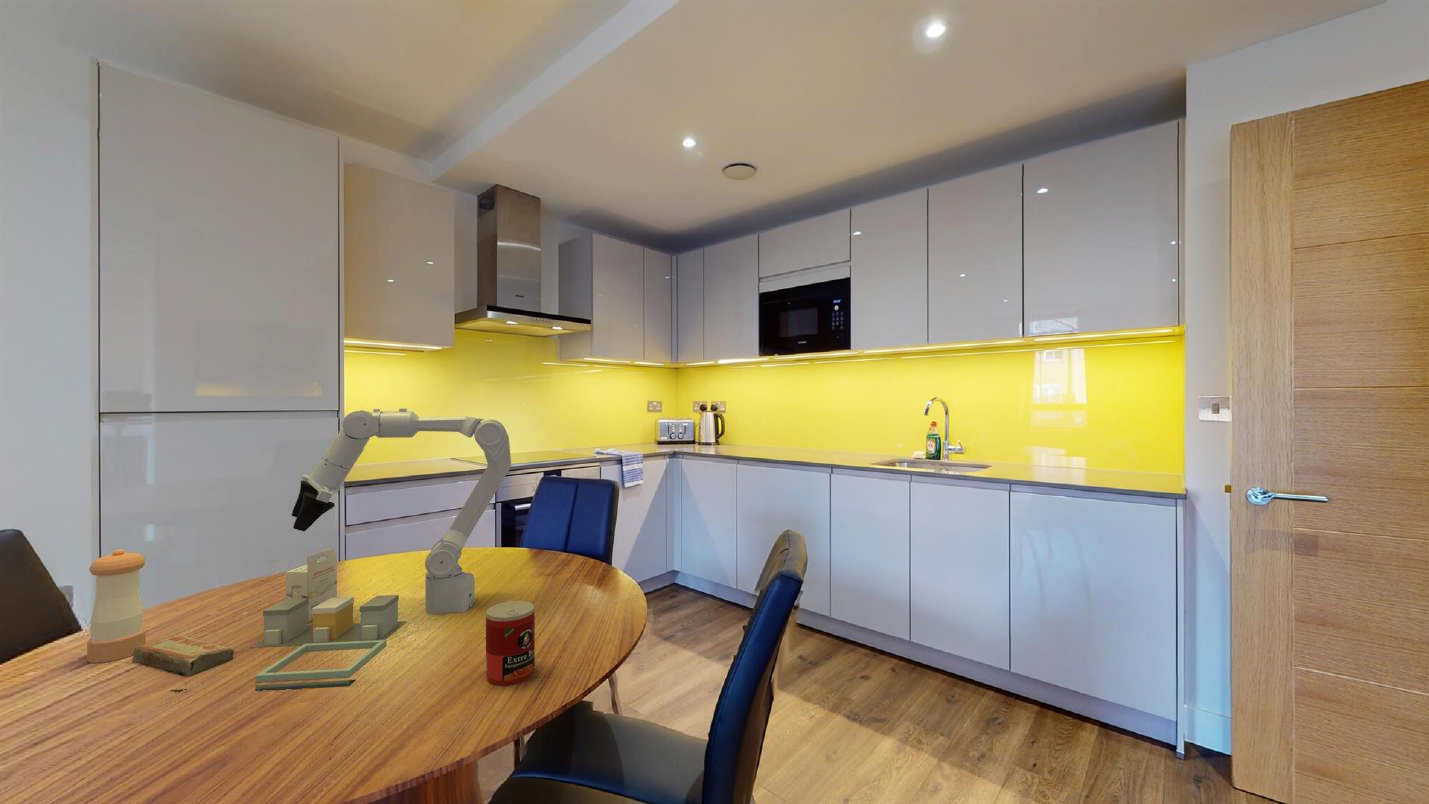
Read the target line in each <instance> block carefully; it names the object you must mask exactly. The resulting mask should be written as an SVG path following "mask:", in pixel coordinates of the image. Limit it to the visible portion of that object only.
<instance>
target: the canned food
mask: <svg viewBox="0 0 1429 804" xmlns="http://www.w3.org/2000/svg"><path fill="white" fill-rule="evenodd" d="M485 614H486V615H485V674H486V678H487V680H488V681H489V683H491V684H494V685H497V686H508V685H514V684H515V685H516V684H518V683H521V682H524V681H526V680H528V679H529V678H530V677H531V676H532V675H533V673H534V671H535V666H536V665H535V663H536V661H535V649H536V648H535V647H536V646H535V641H536V639H535V637H536V635H535V634H536V629H535V627H536V624H535V621H536V620H535V619H536V617H535V615H536V613H535V605H534V604H533V603H531V602H528V601H522V600H518V601H517V600H515V601H505V602H501V603H497V604H495V605H492V606H491V607H489V608H488V609H487V610H486V612H485Z"/></svg>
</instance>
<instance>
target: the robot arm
mask: <svg viewBox="0 0 1429 804" xmlns="http://www.w3.org/2000/svg"><path fill="white" fill-rule="evenodd" d="M418 432H438V433H440V432H441V433H444V432H447V433H450V432H451V433H452V432H453V433H455V432H457V433H460V434H462V435H463V436H465V437H467V438H472V437H473V436H474V440H475V442H476V443H477V445H478V446H479V448H480V449H481V450H482V451H483V453H484V457H485V459H486V463H487V467H486V468H485V470H484V471H483V473H482V474H481V477H480V478H479V479H478V481H477V483H476V484H475V486H474V487H473V489H472V491H471V493H470V494H469V496H467V497H468V498H467V499H466V501H465V502H464V504H463V506H462V507H461V509H460V511H459V512H458V514H457V515H456V517H455V518H454V521H453V522H452V523H451V525H450V527H449V528H448V530H447V531H446V533H445V535H444V536H443V537H442V539H440V540H438V541H436V543H435V544H434V545H433V546H432V548H431V550H430V552H429V553H428V554H427V556H426V558H425V560H424V561H425V562H424V565H425V566H424V567H425V570H426V572H425V582H424V583H425V585H424V586H425V590H424V593H425V598H424V599H425V604H424V605H425V610H424V611H425V613H426V614H430V615H442V614H449V613H451V614H452V613H465V612H467V611H468V610H469V609H470V608H472V607H473V605H474V604H475V601H476V600H475V594H476V593H475V589H476V587H475V582H476V581H475V575H474V573H472V572H465V571H463V567H461V565H460V564H459V560H460V558H461V556H462V550H463V548H464V546H465V545H466V543H467V540H468V539H469V537H470V535H471V534H472V532H473V530H474V529H475V527H476V525H477V524H478V522H479V521H480V519H481V517H482V516H483V514H484V513H485V511H486V508H487V507H488V505H489V504H490V502H491V501H492V499H493V498H494V496H495V494H496V492H497V490H498V489H499V487H500V486H501V484H502V483H503V481H504V479H505V478H506V476H507V474H508V472H509V471H510V470H511V466H512V458H511V447H510V437H509V434H508V431H507V429H506V427H505V426H504V425H503V423H502V422H500V421H499V420H497V419H486V420H485V418H481V417H479V418H478V417H474V416H431V417H430V416H424V417H420V416H418V415H417V414H416V413H415V411H413V410H408V409H407V408H403V407H402V408H401V407H400V408H399V409H398V410H381V409H380V408H373V410H372V412H371V411H368V410H363V409H360V410H356V411H355V410H354V411H351V412H350V413H348V414H347V415H346V416H345V417H344V418H343V420H342V427H341V429H340V430H339V431H338V433H337V434H336V436H335V437H334V439H333V440H332V441H331V443H330V445H328V447H327V448H326V451H325V452H324V453H323V455H322V457H321V458H320V459H319V461H318V462H317V464H316V466H315V467H314V468H313V471H312V472H311V473H310V475H309V474H308V475H307V474H304V473H302V475H301V476H300V478H301V480H300V485H299V486H300V487H299V493H298V497H297V499H296V501H295V504H294V506H293V508H292V511H291V517H294V518H295V520H294V523H293V527H292V528H293V530H297V531H301V532H304V533H305V532H306V531H307V530H308V529H309V528H310V527H312V525H313V524H314V523H315V522H316V521H317V520H318V519H319V518H320V517H321V516H322V515H324V514H325V513H327V512H329V510H332V509H333V508H334V507H335V506H336V504H335V502H332V501H330V500H331V498H332V496H333V495H335V494H336V493H338V492H339V491H340V490H341V486H342V485H343V484H344V483H343V482H344V481H345V480H346V478H347V476H348V475H349V474H350V472H351V470H352V469H353V467H354V466H355V464H356V462H357V461H358V459H359V458H360V457H361V454H362V453H363V452H364V449H365V447H366V446H367V444H368V442H369V440H370V438H373V437H374V436H375V437H377V438H379V439H381V438H382V439H385V438H387V439H388V438H390V439H393V438H394V439H395V438H396V439H398V438H403V439H404V438H405V439H406V438H413V437H415V436H416V435H417V433H418Z"/></svg>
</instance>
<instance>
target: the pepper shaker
mask: <svg viewBox="0 0 1429 804" xmlns="http://www.w3.org/2000/svg"><path fill="white" fill-rule="evenodd" d="M146 562H147V561H146V558H145V556H143V554H141V553H137V552H125V550H124V549H116V550H113V552H111V554H108V555H107V554H106V555H103V556H102V557H99V558H97V559H96V560H94V561H93V563H91V564H90V567H89V569H88V570H89V572H90V574H91V575H92V576H95V599H94V604H93V609H92V613H91V617H90V621H89V623H90V624H89V625H90V638H89V639H88V641H87V645H86V646H87V649H86V651H87V652H86V654H87V655H86V662H88V663H92V664H94V663H95V664H97V663H100V664H101V663H106V662H113V661H116V660H117V661H118V660H122V659H125V658H129V657H131V656H132V657H133V656H134V654H133V652H134V649H135V648H136V647H138V646H140V645H143V644H146V633H147V632H146V630H147V629H146V628H144V625H143V624H144V608H143V602H142V598H141V593H140V570H141V569H143V568H144V566H145V564H146Z"/></svg>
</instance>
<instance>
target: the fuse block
mask: <svg viewBox="0 0 1429 804" xmlns="http://www.w3.org/2000/svg"><path fill="white" fill-rule="evenodd" d="M407 623H408V620H398V625H397V626H396V627H395V628H394V629H392V630H391V631H390V632H389V633H387V634H386V635H385V636H384V637H378V625H364V626H363V627H362V638H361V622H357V623H356V622H355V623H354V622H353V627H352V628H351V629H350V630H348V631H347V632H345V633H344V634H342V635H341V636H340V637H338V638H337V639H335V640H330V627H318V628H315V629H314V635H313V624H312V625H310V624H309V625H308V629H307V630H305V631H304V632H302V633H300V634H299V635H297V636H296V637H294V638H292V639H291V640H289V641H287V642H281V629H275V630H266V631H264V630H263V640H261V641H260V642H257V643H256V644H254V645H253V646H251V647H250V649H259V648H260V649H262V648H277V647H278V648H279V647H280V648H281V647H301V646H302V645H304V644H313V643H333V642H354V641H374V640H386V641H387V639H388V638H389V637H390V636H392V635H393V634H394V633H395V632H396V631H398V630H399V629H401V627H403V625H405V624H407Z"/></svg>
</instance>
